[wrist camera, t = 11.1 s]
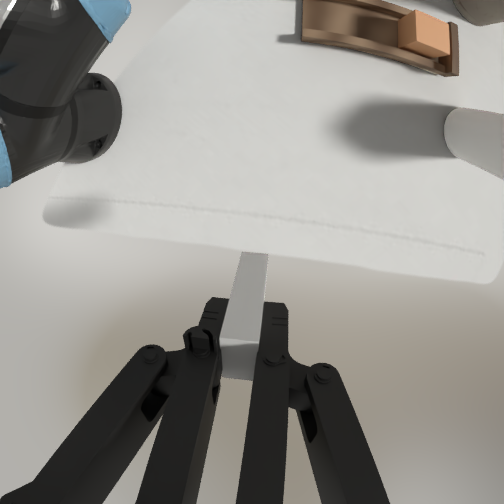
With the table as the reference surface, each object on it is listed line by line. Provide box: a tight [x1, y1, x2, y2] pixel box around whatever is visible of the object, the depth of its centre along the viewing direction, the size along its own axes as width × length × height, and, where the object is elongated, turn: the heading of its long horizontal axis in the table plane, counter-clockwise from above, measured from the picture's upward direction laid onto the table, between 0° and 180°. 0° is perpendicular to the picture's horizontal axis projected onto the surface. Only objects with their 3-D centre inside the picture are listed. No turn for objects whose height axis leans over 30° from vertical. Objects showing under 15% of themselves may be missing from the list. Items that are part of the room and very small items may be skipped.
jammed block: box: [398, 10, 450, 59], centre depth 21 cm, size 5×5×6 cm
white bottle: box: [444, 108, 504, 180], centre depth 22 cm, size 8×8×18 cm
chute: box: [301, 0, 459, 77], centre depth 23 cm, size 21×8×5 cm, turn 87°
